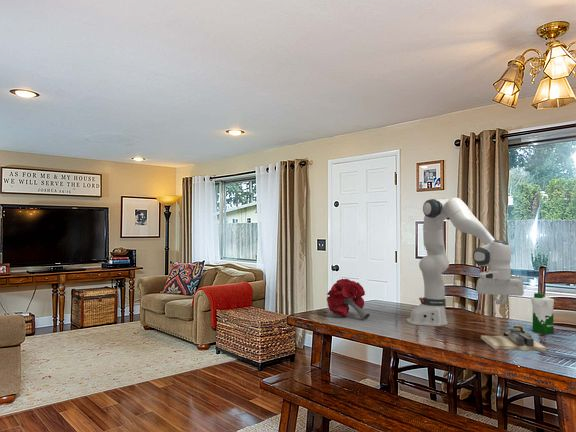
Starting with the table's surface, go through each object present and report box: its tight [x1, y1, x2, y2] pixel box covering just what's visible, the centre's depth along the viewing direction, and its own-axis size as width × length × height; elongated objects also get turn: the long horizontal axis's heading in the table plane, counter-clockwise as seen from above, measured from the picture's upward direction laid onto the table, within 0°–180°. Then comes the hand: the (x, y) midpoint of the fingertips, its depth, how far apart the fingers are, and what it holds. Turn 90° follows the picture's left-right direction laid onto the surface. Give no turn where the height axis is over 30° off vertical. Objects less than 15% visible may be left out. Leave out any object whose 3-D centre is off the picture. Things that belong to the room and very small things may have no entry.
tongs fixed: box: [505, 327, 535, 346], centre depth 194 cm, size 16×6×5 cm, turn 173°
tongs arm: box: [508, 332, 525, 346], centre depth 192 cm, size 13×3×3 cm, turn 170°
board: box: [480, 335, 548, 352], centre depth 194 cm, size 22×18×2 cm
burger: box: [503, 321, 532, 338], centre depth 209 cm, size 12×12×8 cm
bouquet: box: [326, 278, 370, 321], centre depth 252 cm, size 21×23×30 cm
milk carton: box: [530, 292, 555, 335], centre depth 218 cm, size 9×9×20 cm
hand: (499, 304), depth 196 cm, fingers closed
